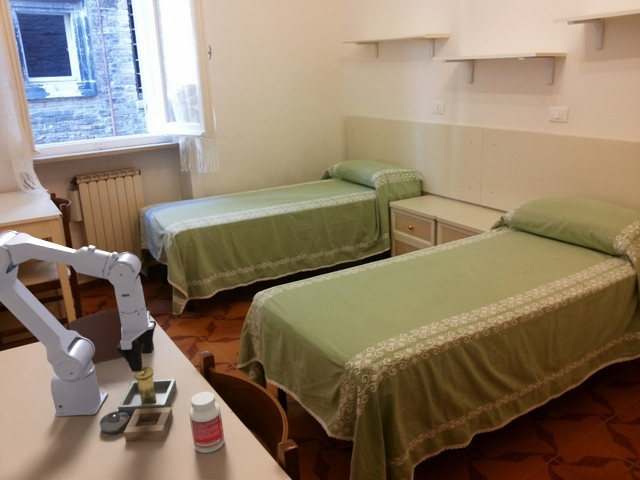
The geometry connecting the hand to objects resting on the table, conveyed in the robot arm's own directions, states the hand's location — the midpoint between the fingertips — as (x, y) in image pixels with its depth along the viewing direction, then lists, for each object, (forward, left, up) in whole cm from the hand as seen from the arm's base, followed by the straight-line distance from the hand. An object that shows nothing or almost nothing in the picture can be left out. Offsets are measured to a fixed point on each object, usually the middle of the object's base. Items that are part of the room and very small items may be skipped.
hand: (142, 361), depth 130 cm
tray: (0, -1, -10) cm, 10 cm away
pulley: (-5, -10, -10) cm, 15 cm away
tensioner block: (+3, -11, -10) cm, 15 cm away
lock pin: (0, -2, -10) cm, 10 cm away
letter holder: (-16, +25, -11) cm, 31 cm away
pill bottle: (+17, -17, -10) cm, 26 cm away
